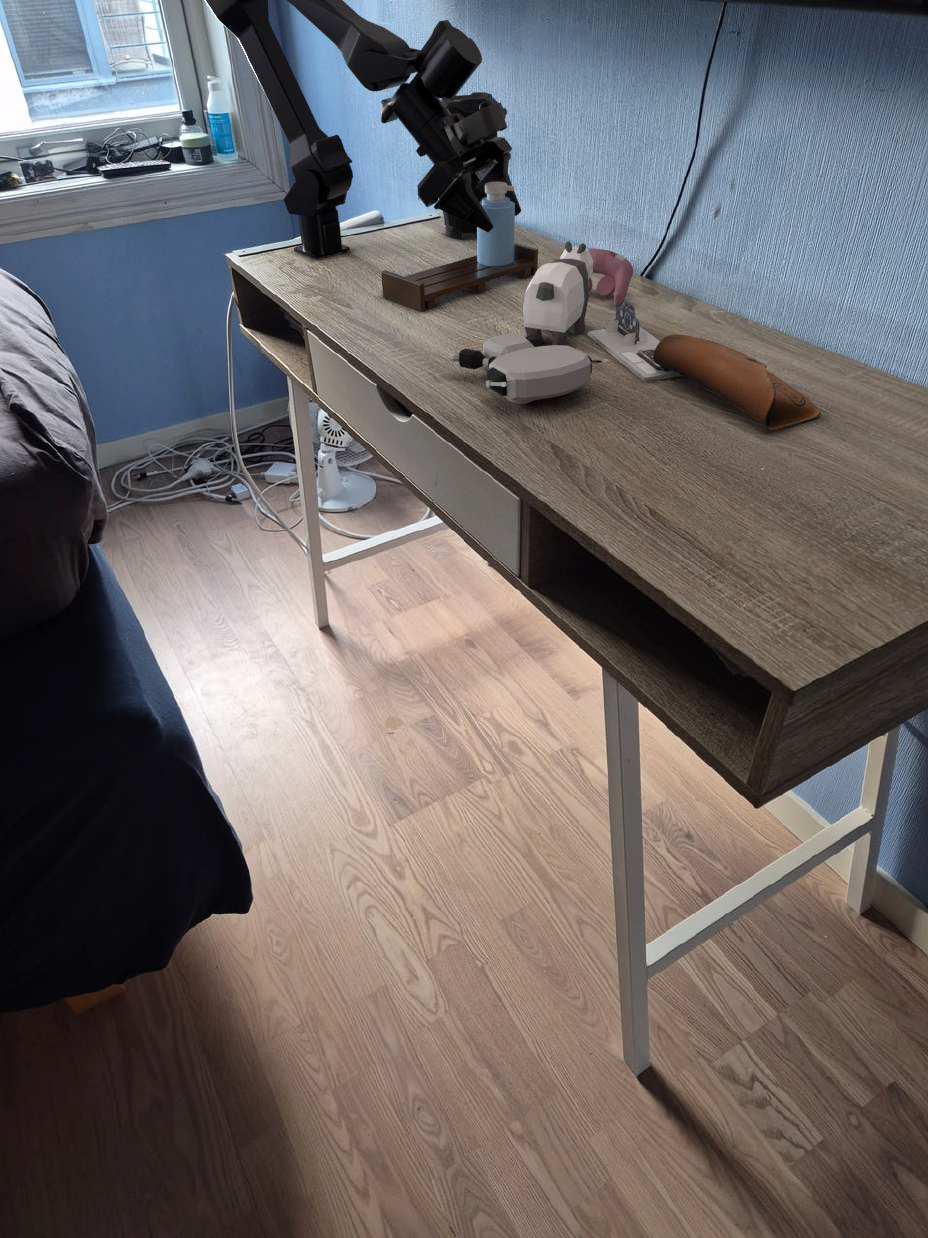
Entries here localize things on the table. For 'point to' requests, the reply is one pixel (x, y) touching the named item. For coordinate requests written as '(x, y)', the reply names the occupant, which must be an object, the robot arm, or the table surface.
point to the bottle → (497, 227)
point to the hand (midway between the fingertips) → (505, 221)
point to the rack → (454, 278)
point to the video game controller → (611, 274)
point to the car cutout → (631, 345)
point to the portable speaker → (466, 108)
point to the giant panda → (559, 295)
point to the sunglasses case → (736, 380)
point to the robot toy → (528, 367)
